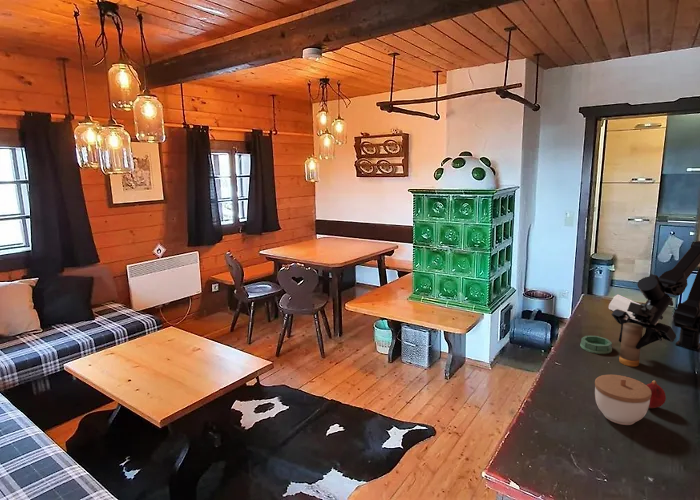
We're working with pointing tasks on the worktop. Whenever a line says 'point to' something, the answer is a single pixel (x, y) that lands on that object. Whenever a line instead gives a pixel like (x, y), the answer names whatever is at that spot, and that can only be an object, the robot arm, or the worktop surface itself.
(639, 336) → the sleeve
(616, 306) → the pale pink faceted bar
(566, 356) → the worktop surface
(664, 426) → the worktop surface
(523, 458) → the worktop surface
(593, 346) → the socket
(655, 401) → the onion
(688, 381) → the worktop surface
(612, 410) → the lidded bowl
